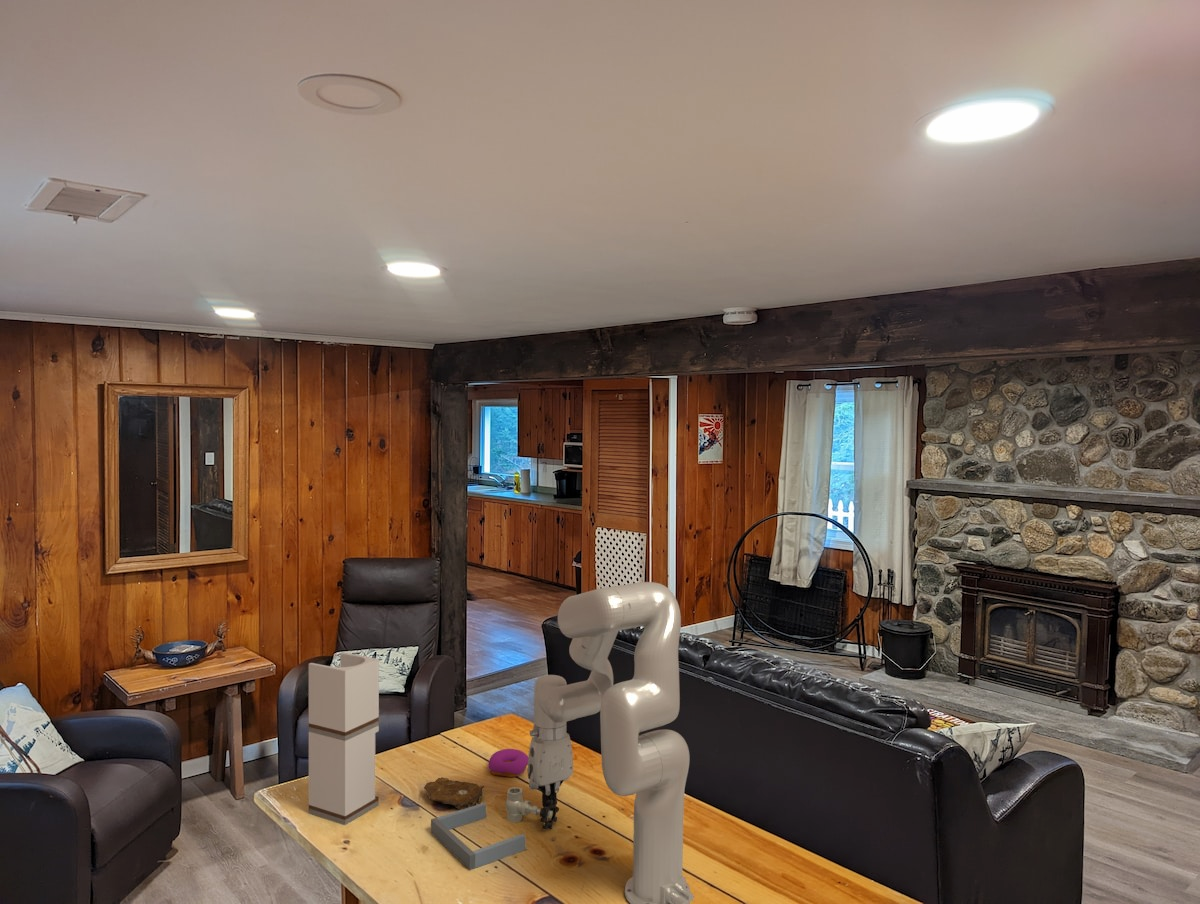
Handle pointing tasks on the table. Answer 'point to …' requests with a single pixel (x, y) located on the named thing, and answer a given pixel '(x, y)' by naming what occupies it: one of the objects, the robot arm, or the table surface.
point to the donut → (508, 762)
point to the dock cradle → (460, 850)
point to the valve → (529, 808)
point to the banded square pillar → (343, 737)
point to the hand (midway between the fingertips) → (549, 808)
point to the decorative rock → (454, 792)
